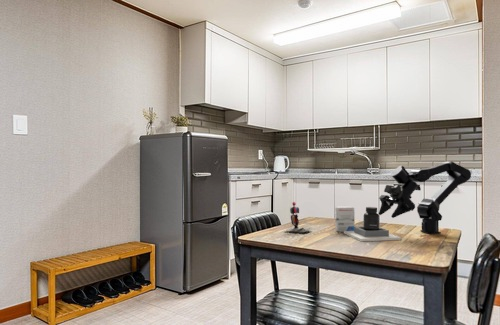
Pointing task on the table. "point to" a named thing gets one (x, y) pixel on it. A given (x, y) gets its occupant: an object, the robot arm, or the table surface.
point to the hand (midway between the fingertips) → (385, 215)
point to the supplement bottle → (371, 219)
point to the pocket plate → (371, 234)
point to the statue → (296, 221)
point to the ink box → (344, 219)
